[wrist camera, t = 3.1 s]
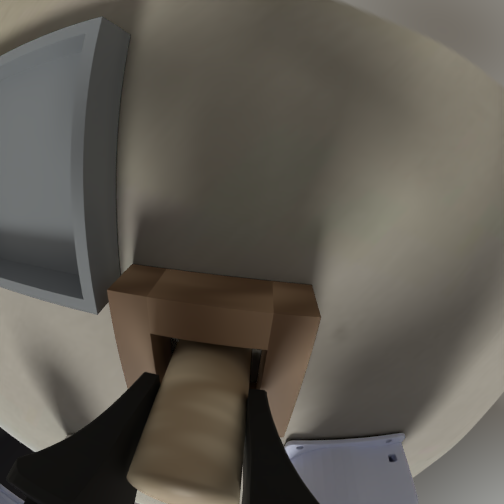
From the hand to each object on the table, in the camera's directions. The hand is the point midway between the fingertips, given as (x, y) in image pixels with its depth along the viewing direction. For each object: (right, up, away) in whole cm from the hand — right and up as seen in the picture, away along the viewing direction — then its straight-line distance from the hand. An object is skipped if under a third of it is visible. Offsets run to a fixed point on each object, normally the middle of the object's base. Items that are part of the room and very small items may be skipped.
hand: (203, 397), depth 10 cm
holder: (0, +1, +3) cm, 3 cm away
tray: (-9, +10, 0) cm, 14 cm away
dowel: (0, +1, +3) cm, 3 cm away
